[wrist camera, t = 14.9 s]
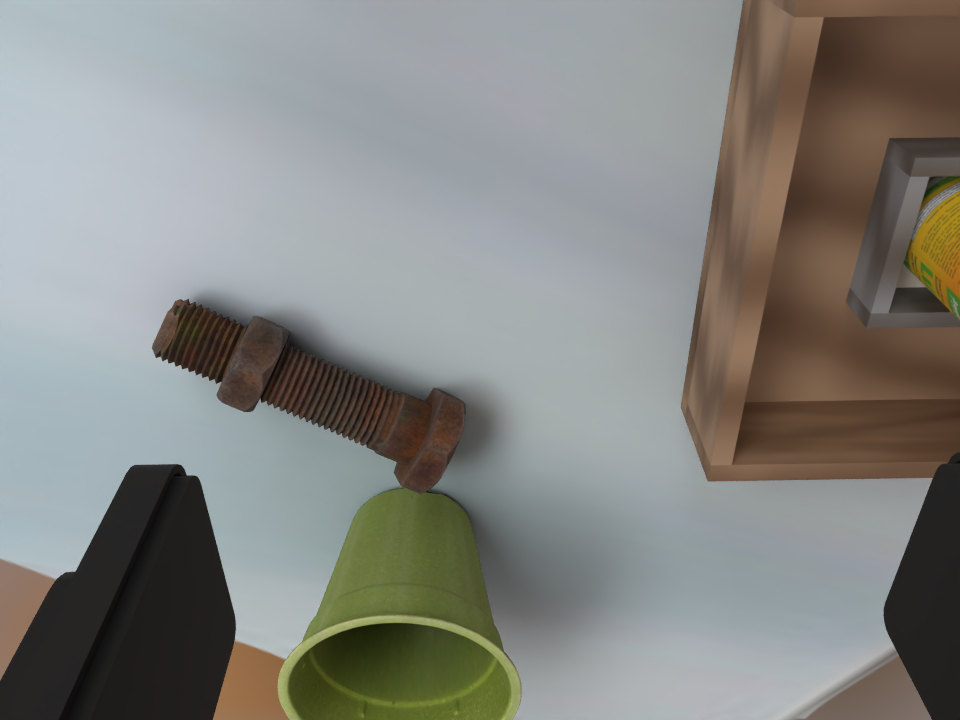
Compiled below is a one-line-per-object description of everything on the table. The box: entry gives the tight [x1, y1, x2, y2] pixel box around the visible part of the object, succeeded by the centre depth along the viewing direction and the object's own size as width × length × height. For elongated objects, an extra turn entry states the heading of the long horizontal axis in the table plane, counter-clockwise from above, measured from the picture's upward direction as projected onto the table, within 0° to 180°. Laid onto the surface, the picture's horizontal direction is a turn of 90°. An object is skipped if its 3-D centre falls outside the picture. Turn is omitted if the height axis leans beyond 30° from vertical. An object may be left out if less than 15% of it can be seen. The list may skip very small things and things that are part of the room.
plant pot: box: [278, 488, 521, 720], centre depth 45 cm, size 12×12×11 cm
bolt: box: [152, 299, 465, 494], centre depth 41 cm, size 6×5×15 cm
